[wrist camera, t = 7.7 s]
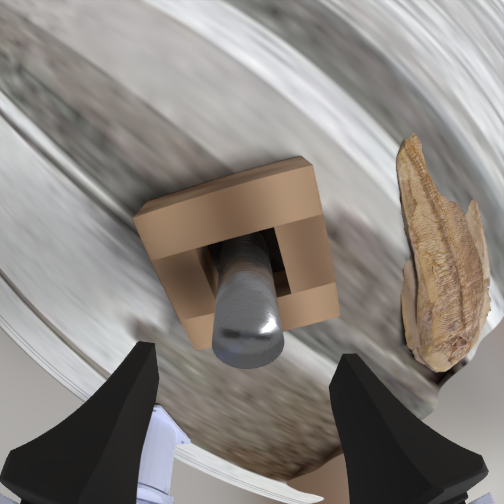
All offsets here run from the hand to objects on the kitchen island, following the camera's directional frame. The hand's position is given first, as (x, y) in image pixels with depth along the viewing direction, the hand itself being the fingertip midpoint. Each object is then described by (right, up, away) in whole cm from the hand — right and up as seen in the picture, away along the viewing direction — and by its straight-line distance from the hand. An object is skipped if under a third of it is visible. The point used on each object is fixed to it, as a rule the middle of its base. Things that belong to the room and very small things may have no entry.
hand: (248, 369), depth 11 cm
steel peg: (0, +5, +9) cm, 10 cm away
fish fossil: (+17, +3, +11) cm, 21 cm away
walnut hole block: (0, +5, +9) cm, 10 cm away
